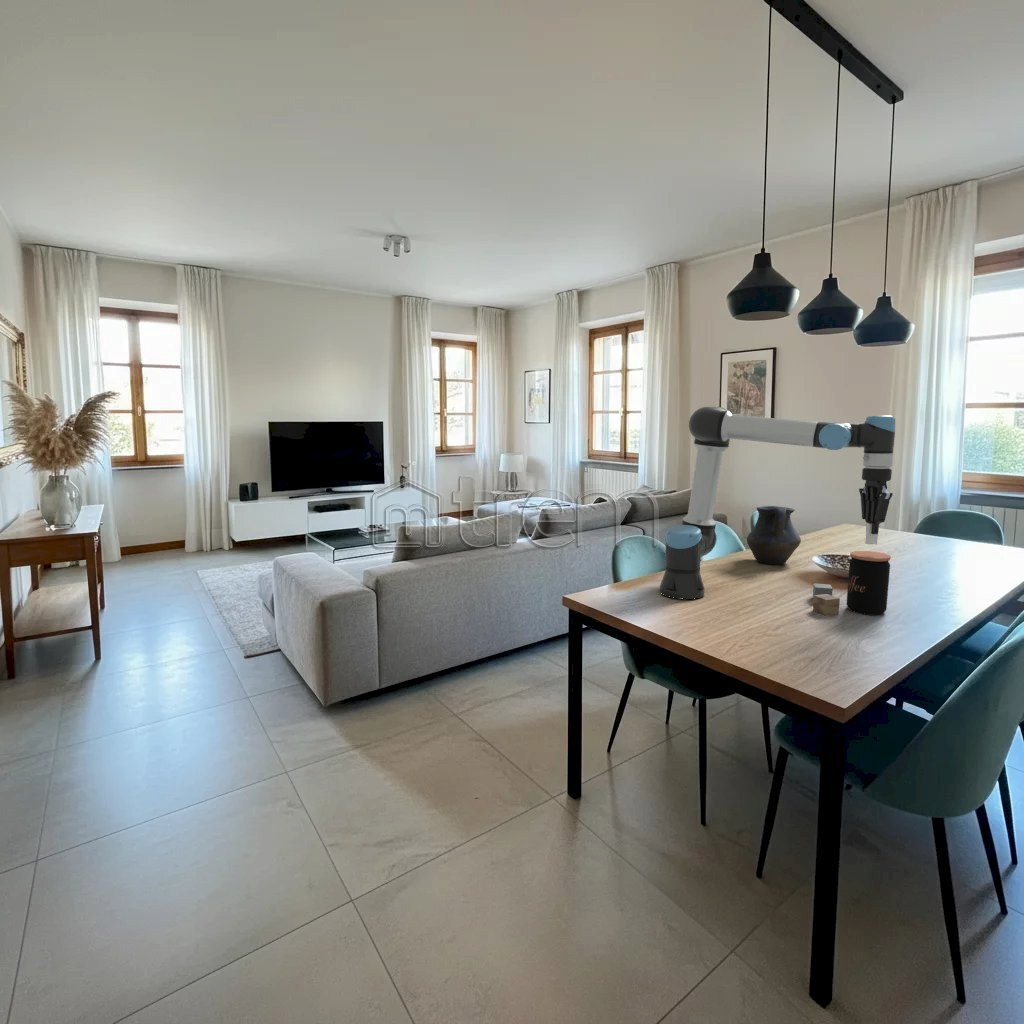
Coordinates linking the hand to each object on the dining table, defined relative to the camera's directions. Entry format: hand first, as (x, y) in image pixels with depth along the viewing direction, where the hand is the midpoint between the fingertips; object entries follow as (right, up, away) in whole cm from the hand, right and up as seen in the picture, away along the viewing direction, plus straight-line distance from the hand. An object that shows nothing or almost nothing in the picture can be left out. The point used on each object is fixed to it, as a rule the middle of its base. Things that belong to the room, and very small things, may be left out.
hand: (871, 543), depth 176 cm
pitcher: (-1, -12, +66) cm, 67 cm away
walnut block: (-13, -22, +2) cm, 25 cm away
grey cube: (-7, -20, +14) cm, 25 cm away
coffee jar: (0, -21, +3) cm, 22 cm away
